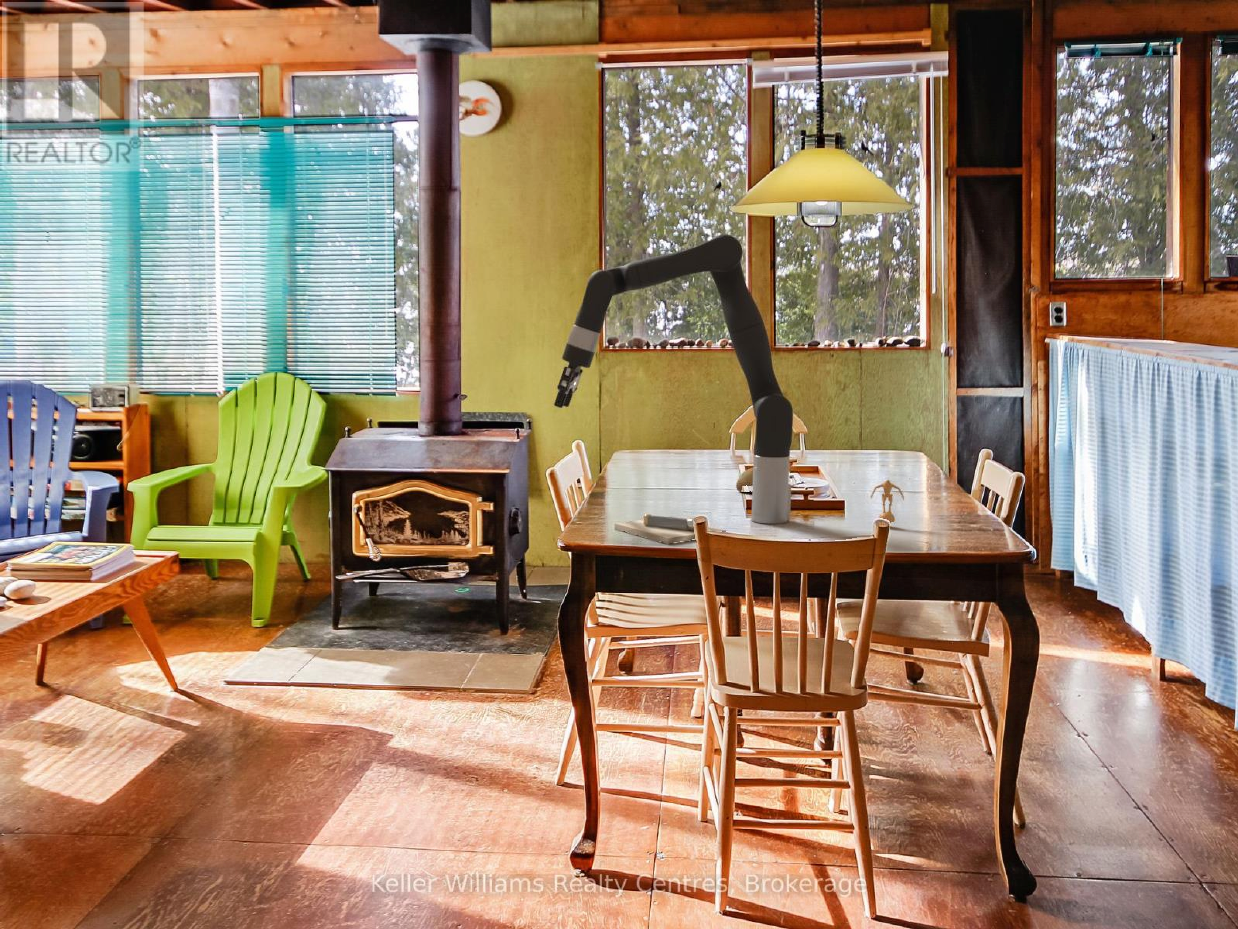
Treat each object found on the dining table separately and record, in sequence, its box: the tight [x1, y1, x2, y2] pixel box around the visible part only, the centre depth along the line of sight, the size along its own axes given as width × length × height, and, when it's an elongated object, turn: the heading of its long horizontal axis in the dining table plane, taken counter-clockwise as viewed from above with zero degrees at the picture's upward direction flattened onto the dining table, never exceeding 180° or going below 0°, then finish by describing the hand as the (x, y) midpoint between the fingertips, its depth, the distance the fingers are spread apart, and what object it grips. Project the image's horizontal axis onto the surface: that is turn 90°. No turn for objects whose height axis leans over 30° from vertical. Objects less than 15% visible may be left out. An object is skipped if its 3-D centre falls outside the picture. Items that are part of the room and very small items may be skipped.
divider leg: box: [643, 513, 695, 530], centre depth 269 cm, size 14×3×2 cm, turn 66°
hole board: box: [614, 515, 727, 545], centre depth 272 cm, size 18×21×2 cm
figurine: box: [870, 479, 905, 523], centre depth 284 cm, size 8×6×12 cm
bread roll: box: [735, 467, 753, 493], centre depth 334 cm, size 10×15×8 cm, turn 93°
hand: (561, 406), depth 284 cm, fingers open, 8 cm apart
